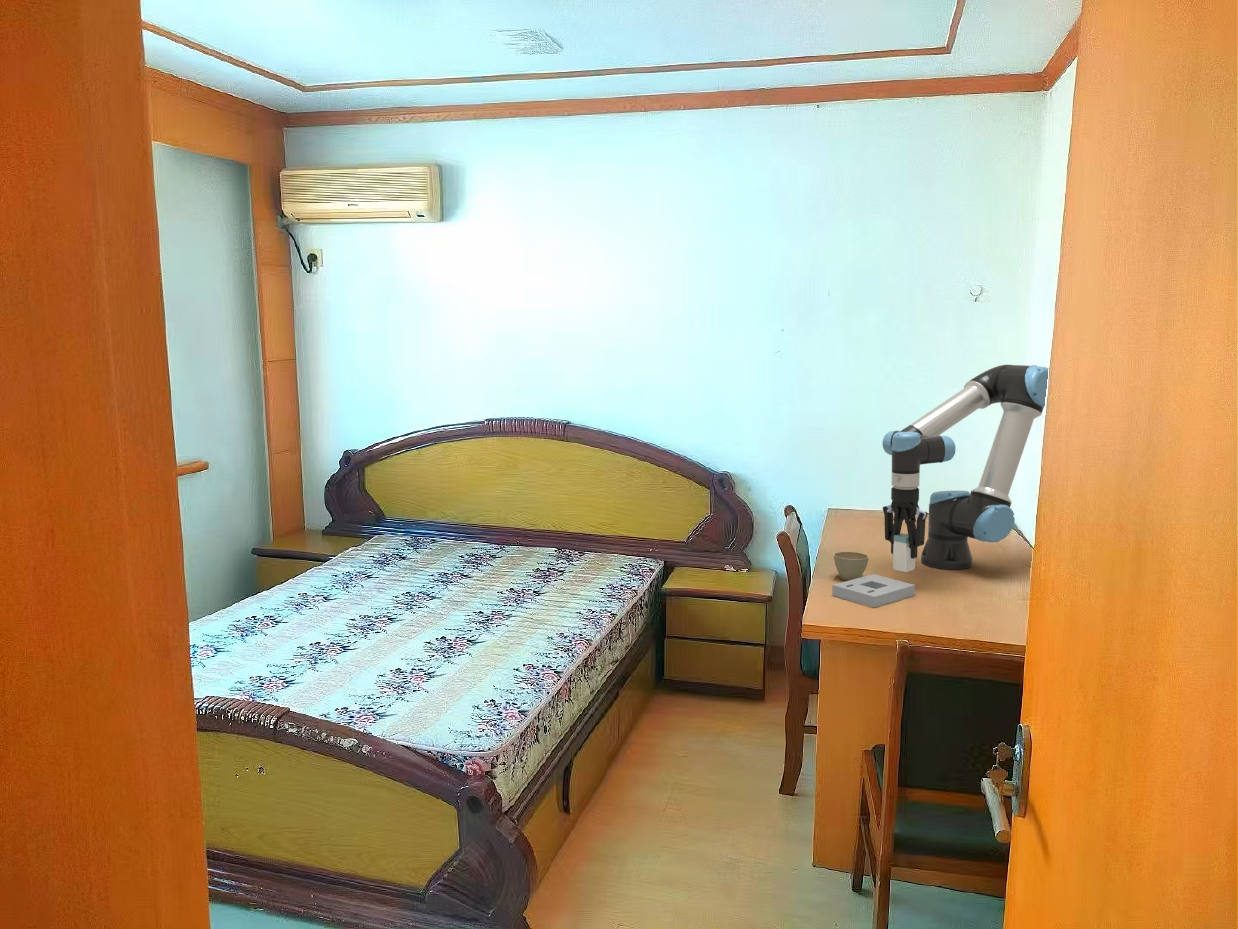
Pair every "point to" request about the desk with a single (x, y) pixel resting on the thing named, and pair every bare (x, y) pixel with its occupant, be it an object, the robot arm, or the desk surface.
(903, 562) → the block
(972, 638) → the desk surface
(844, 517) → the desk surface
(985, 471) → the robot arm
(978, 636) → the desk surface
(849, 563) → the flower pot
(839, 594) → the outlet plate
